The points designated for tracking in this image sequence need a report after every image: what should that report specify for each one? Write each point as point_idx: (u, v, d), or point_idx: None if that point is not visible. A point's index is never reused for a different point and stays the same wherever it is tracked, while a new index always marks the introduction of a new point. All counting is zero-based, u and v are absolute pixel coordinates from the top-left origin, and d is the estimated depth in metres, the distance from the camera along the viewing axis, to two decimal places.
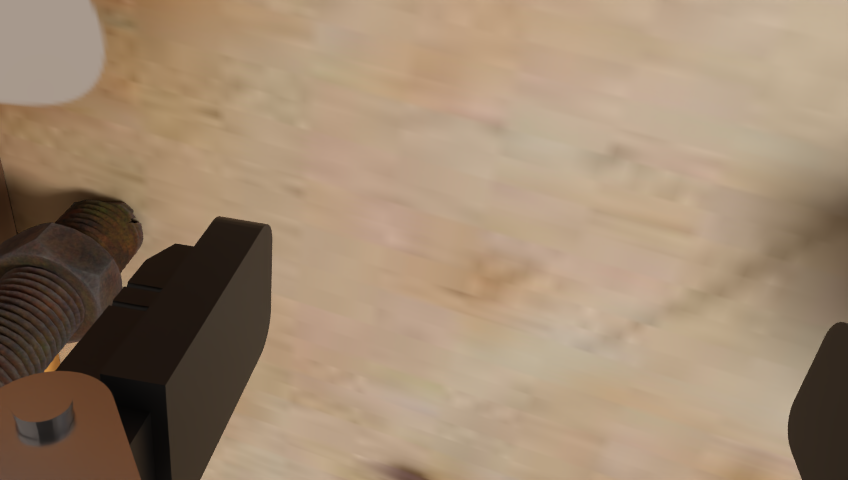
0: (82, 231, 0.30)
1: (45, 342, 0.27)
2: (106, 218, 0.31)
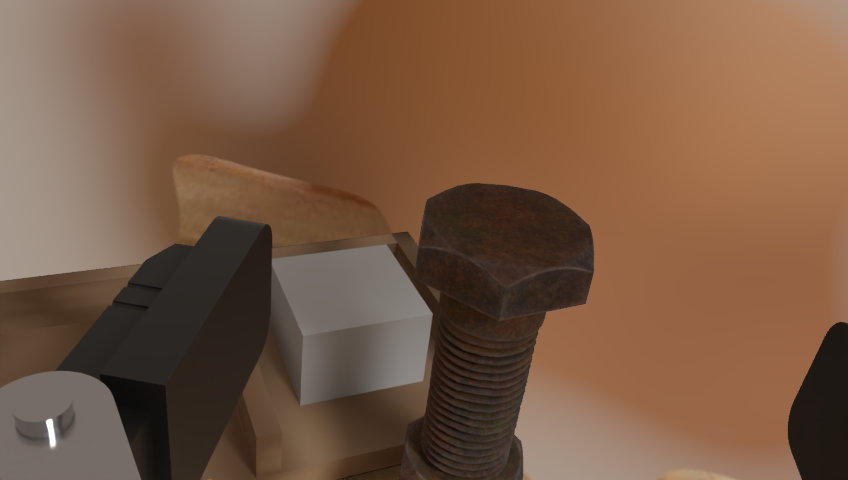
0: None
1: (504, 427, 0.26)
2: None
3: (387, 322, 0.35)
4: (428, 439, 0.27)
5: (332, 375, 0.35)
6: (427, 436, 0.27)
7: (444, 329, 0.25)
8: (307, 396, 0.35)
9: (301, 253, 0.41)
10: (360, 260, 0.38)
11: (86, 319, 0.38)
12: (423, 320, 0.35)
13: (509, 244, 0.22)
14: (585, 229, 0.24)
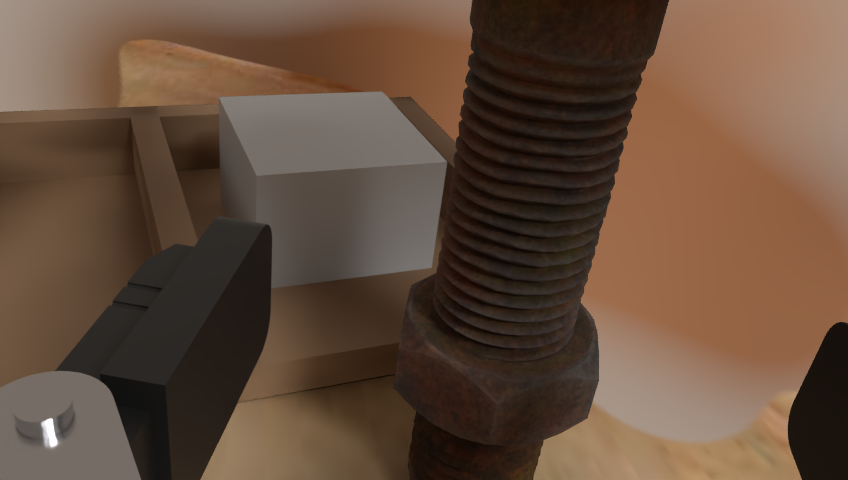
0: None
1: (577, 257, 0.15)
2: None
3: (382, 167, 0.24)
4: (446, 288, 0.16)
5: (301, 245, 0.24)
6: (444, 284, 0.17)
7: (478, 67, 0.14)
8: None
9: None
10: (346, 104, 0.28)
11: None
12: (433, 170, 0.25)
13: None
14: None
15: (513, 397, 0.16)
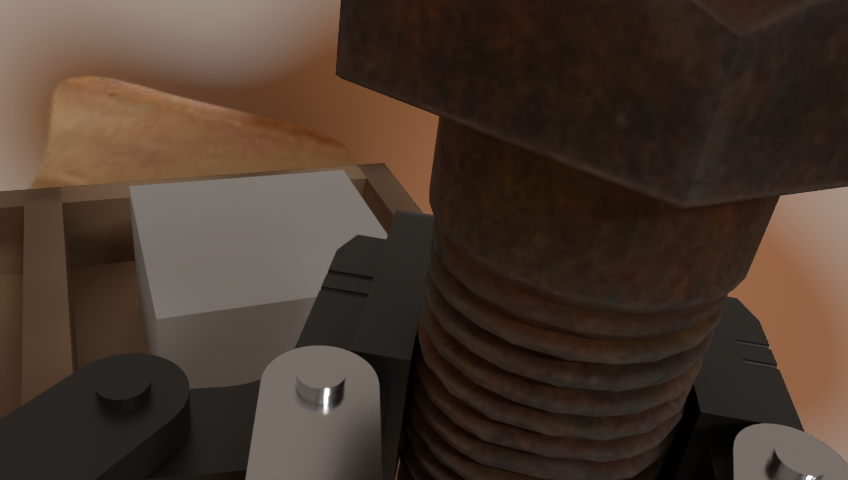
0: None
1: None
2: None
3: None
4: None
5: None
6: None
7: (444, 278, 0.08)
8: None
9: None
10: (294, 192, 0.22)
11: None
12: None
13: None
14: None
15: None
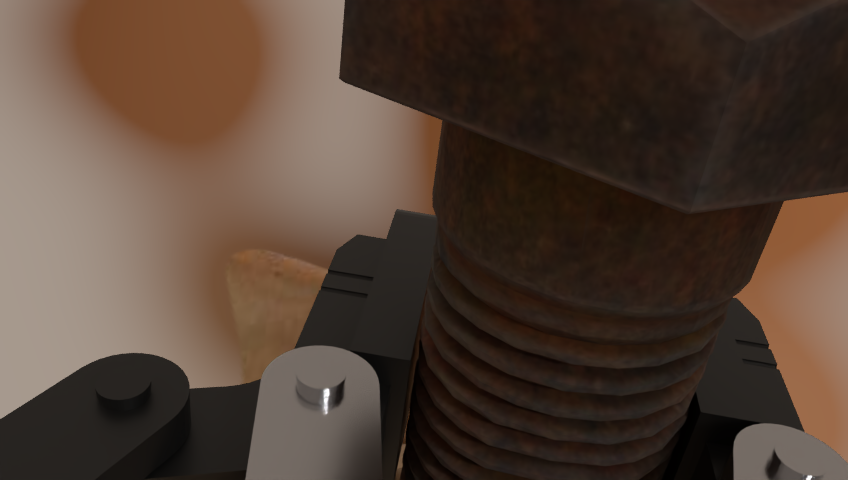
0: None
1: None
2: None
3: None
4: None
5: None
6: None
7: (447, 282, 0.08)
8: None
9: None
10: None
11: None
12: None
13: None
14: None
15: None
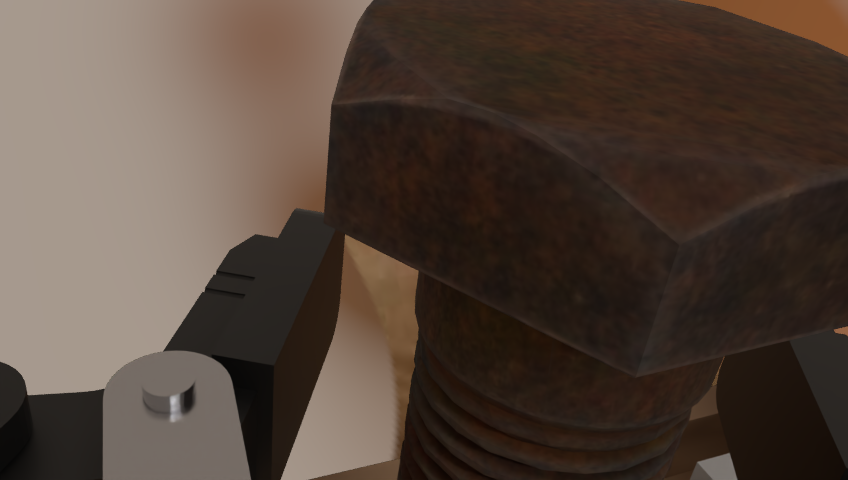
0: None
1: None
2: None
3: None
4: None
5: None
6: None
7: (428, 383, 0.09)
8: None
9: None
10: None
11: None
12: None
13: (658, 95, 0.06)
14: None
15: None
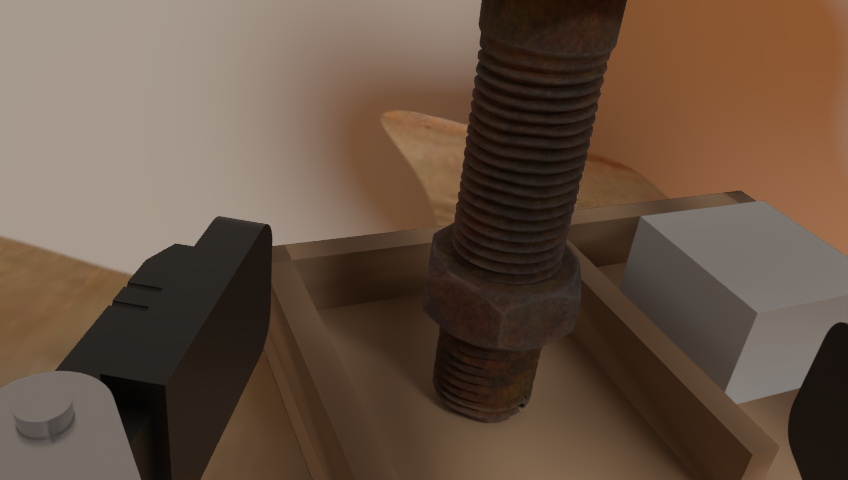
0: None
1: (562, 201, 0.20)
2: None
3: (845, 296, 0.26)
4: (462, 229, 0.21)
5: (764, 367, 0.26)
6: (461, 227, 0.21)
7: (486, 60, 0.19)
8: (729, 396, 0.26)
9: (637, 214, 0.32)
10: (749, 218, 0.29)
11: (392, 296, 0.29)
12: None
13: None
14: None
15: (514, 310, 0.21)
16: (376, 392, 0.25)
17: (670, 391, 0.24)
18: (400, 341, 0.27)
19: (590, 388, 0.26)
